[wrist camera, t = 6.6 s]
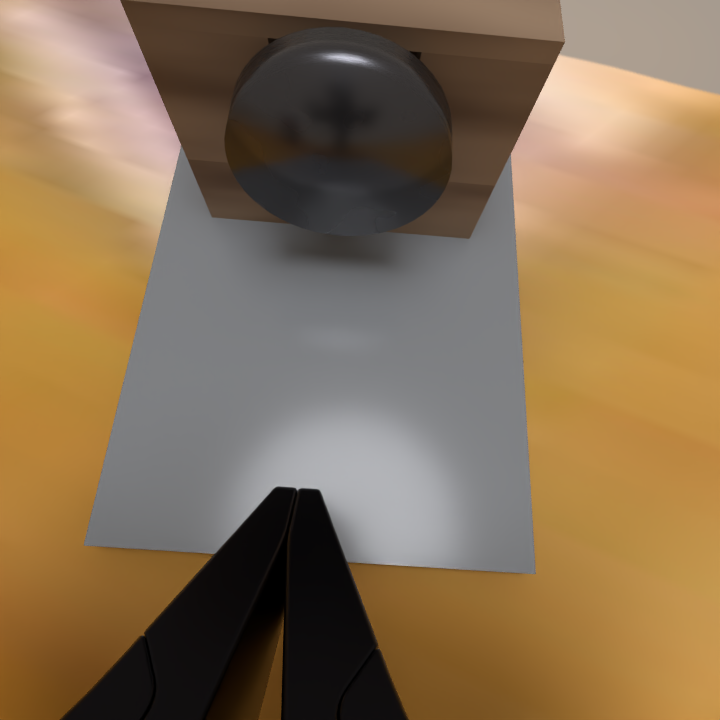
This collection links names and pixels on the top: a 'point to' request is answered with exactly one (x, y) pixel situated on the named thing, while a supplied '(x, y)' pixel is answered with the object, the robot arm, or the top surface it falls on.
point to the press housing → (377, 16)
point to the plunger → (339, 132)
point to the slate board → (326, 389)
